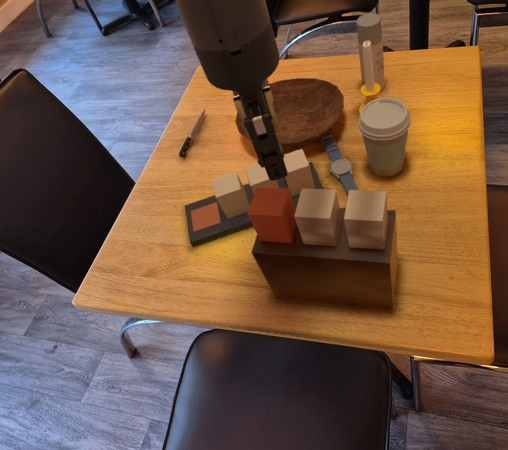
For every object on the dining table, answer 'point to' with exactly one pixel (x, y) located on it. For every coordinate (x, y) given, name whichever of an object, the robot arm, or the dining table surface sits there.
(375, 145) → the coffee cup
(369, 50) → the candle
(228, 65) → the robot arm
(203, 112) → the knife
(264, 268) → the stand
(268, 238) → the red-brown rectangular block
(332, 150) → the wristwatch
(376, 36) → the container
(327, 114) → the bowl
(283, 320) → the dining table surface
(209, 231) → the far board
